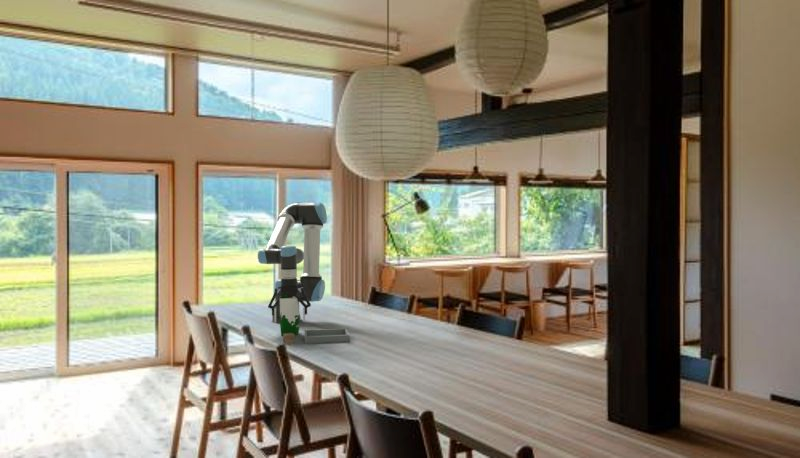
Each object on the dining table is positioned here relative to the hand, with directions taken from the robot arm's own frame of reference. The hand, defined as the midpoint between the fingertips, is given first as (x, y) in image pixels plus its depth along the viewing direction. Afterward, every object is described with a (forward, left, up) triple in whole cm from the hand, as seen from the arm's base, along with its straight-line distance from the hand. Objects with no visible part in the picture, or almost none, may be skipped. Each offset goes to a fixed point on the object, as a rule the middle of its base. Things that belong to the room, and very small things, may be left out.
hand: (289, 322), depth 294 cm
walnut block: (+18, 0, -6) cm, 19 cm away
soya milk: (0, 0, -6) cm, 6 cm away
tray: (+14, +17, -6) cm, 23 cm away
